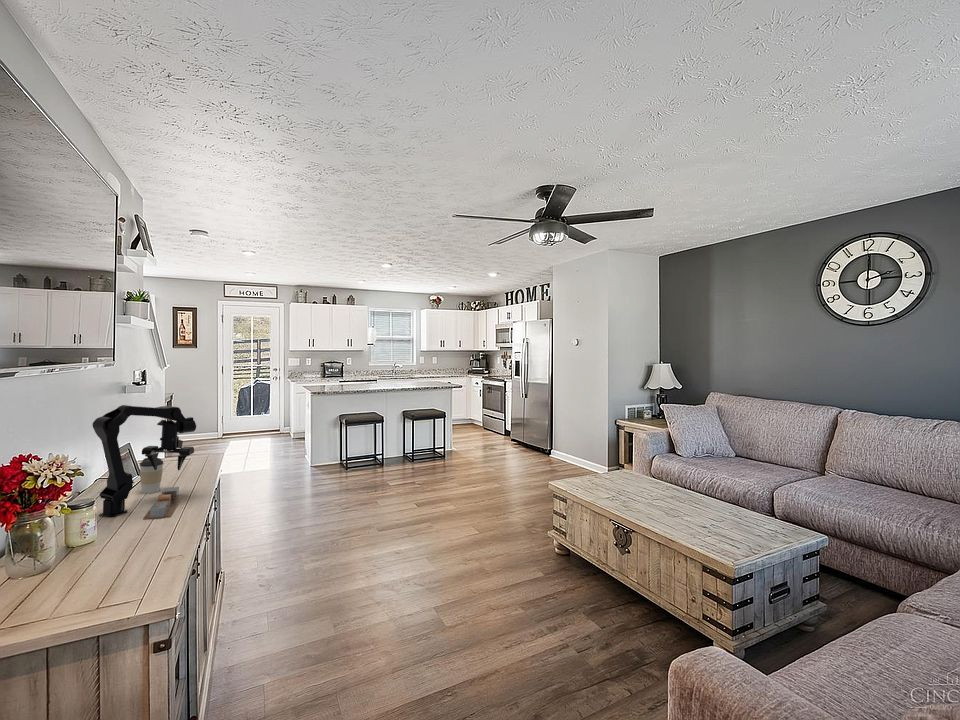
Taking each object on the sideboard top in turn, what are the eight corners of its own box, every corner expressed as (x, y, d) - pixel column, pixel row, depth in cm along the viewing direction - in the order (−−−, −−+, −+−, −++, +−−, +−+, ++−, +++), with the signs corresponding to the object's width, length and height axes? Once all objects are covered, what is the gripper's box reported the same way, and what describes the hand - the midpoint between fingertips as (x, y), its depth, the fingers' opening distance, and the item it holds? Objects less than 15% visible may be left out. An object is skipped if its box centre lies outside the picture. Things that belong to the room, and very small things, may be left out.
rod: (164, 514, 181) (164, 503, 181) (152, 515, 179) (152, 504, 179) (172, 501, 196) (173, 491, 195) (161, 502, 194) (161, 491, 194)
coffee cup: (167, 488, 213) (168, 457, 213) (151, 494, 204) (152, 461, 204) (149, 487, 214) (150, 455, 214) (133, 493, 205) (134, 460, 205)
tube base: (170, 517, 180) (171, 506, 180) (143, 519, 177) (143, 508, 177) (183, 495, 206) (184, 486, 206) (160, 496, 202) (160, 487, 202)
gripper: (200, 432, 209) (198, 466, 209) (155, 431, 206) (153, 465, 206) (189, 436, 198) (187, 472, 198) (142, 435, 195) (139, 471, 195)
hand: (167, 470), depth 200 cm, fingers open, 9 cm apart
